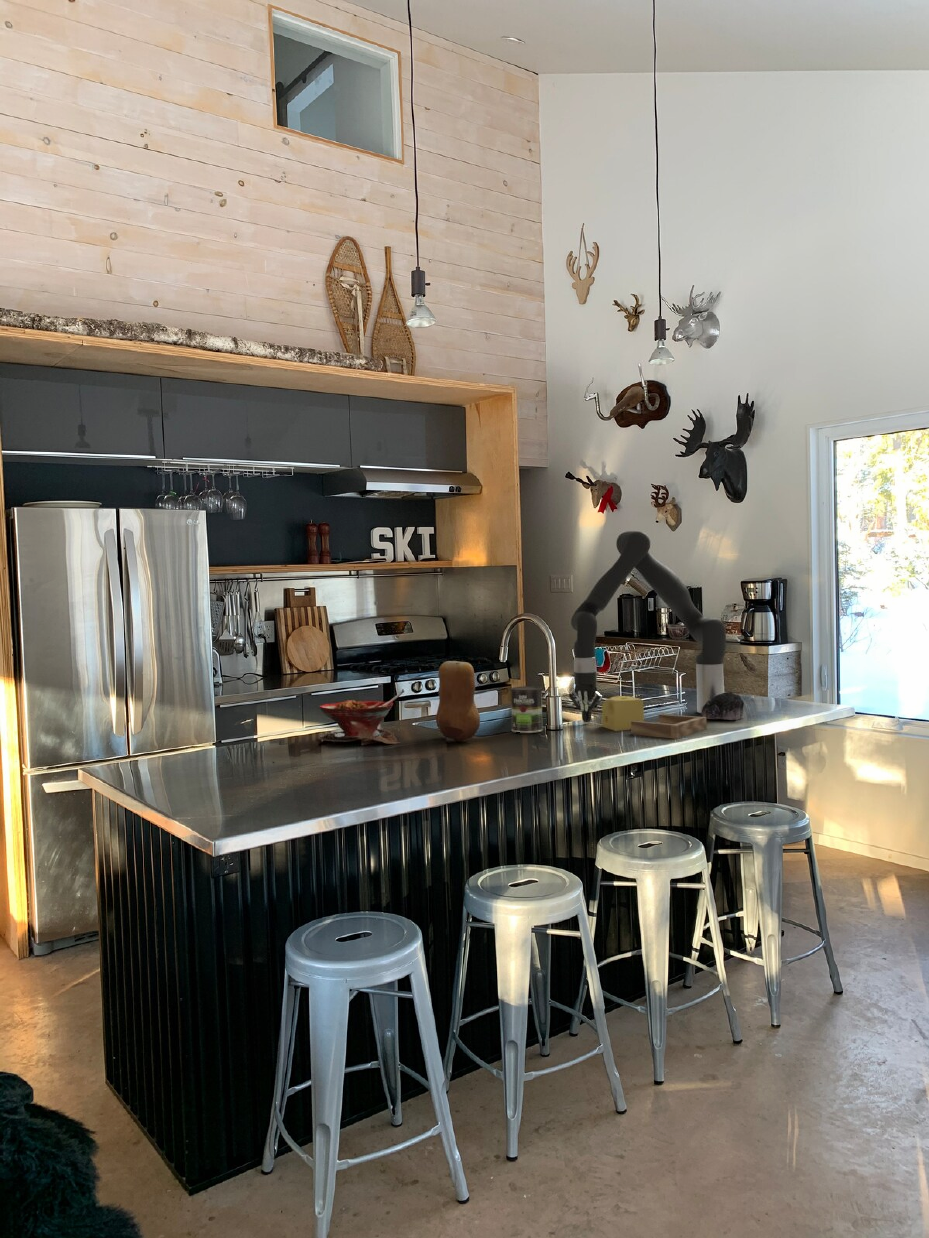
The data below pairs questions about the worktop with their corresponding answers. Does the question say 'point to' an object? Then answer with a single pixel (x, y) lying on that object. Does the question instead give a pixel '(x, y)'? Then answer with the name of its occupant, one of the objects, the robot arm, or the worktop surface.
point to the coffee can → (526, 709)
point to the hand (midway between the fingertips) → (586, 721)
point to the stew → (359, 721)
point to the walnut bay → (669, 726)
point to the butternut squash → (457, 701)
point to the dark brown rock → (724, 707)
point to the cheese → (621, 712)
